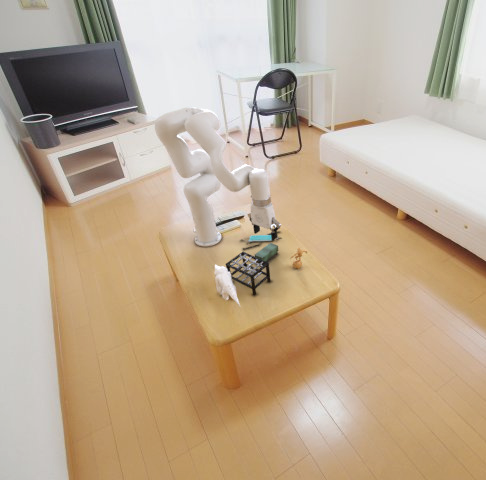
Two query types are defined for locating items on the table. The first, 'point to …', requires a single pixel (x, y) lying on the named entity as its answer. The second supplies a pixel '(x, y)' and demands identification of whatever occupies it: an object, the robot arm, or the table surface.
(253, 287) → the rack
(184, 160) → the robot arm
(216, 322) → the table surface
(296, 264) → the figurine
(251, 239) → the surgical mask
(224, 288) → the dinosaur statue
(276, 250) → the teal sanding sponge
